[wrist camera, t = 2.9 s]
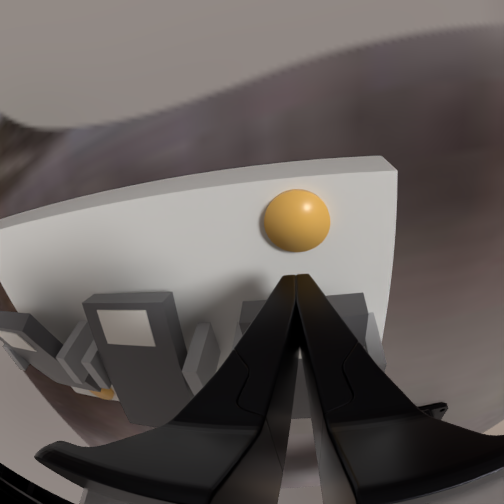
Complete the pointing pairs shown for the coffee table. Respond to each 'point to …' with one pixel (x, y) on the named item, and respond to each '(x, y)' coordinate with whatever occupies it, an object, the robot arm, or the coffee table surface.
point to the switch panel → (204, 253)
